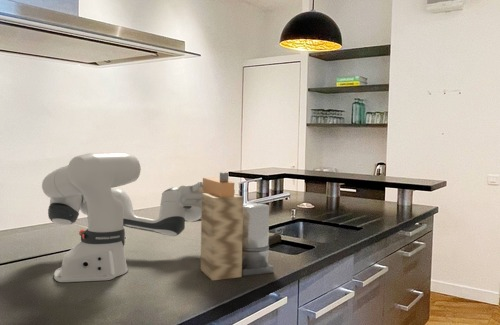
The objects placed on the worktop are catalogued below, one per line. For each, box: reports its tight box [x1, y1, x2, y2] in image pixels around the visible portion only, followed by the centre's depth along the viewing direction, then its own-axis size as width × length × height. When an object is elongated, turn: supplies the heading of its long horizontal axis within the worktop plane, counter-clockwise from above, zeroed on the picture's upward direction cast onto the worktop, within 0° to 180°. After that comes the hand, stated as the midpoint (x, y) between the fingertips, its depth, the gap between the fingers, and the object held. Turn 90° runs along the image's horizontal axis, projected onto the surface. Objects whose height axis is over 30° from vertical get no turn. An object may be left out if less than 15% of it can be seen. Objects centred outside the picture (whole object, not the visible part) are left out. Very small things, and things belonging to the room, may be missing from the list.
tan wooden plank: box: [202, 171, 235, 197], centre depth 147 cm, size 4×19×8 cm, turn 24°
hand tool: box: [268, 233, 282, 246], centre depth 183 cm, size 19×4×5 cm, turn 146°
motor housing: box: [242, 202, 274, 276], centre depth 149 cm, size 11×11×22 cm
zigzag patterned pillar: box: [200, 193, 244, 281], centre depth 144 cm, size 10×12×26 cm
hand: (211, 183), depth 152 cm, fingers open, 7 cm apart
